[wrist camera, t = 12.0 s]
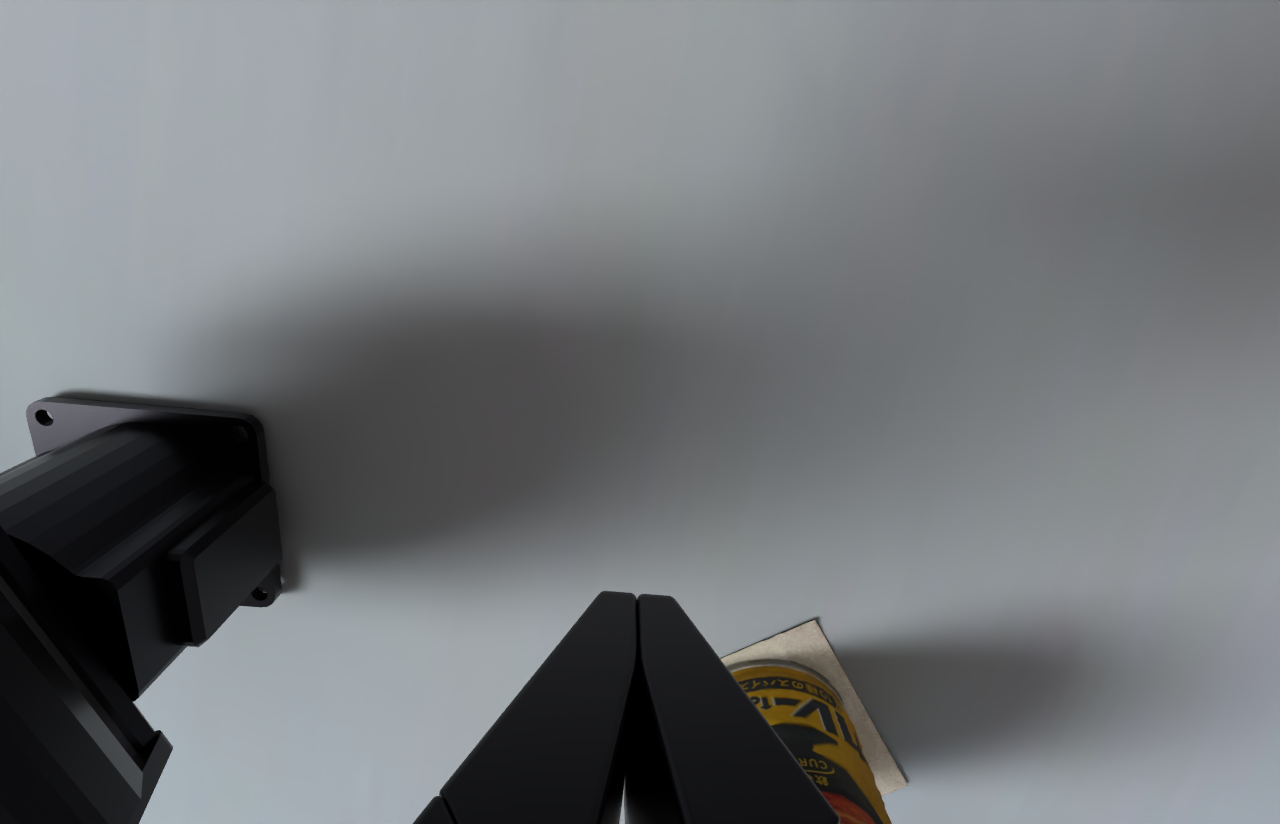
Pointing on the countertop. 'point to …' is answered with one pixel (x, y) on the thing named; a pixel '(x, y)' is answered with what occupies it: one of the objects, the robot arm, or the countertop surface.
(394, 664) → the countertop surface
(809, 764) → the condiment
